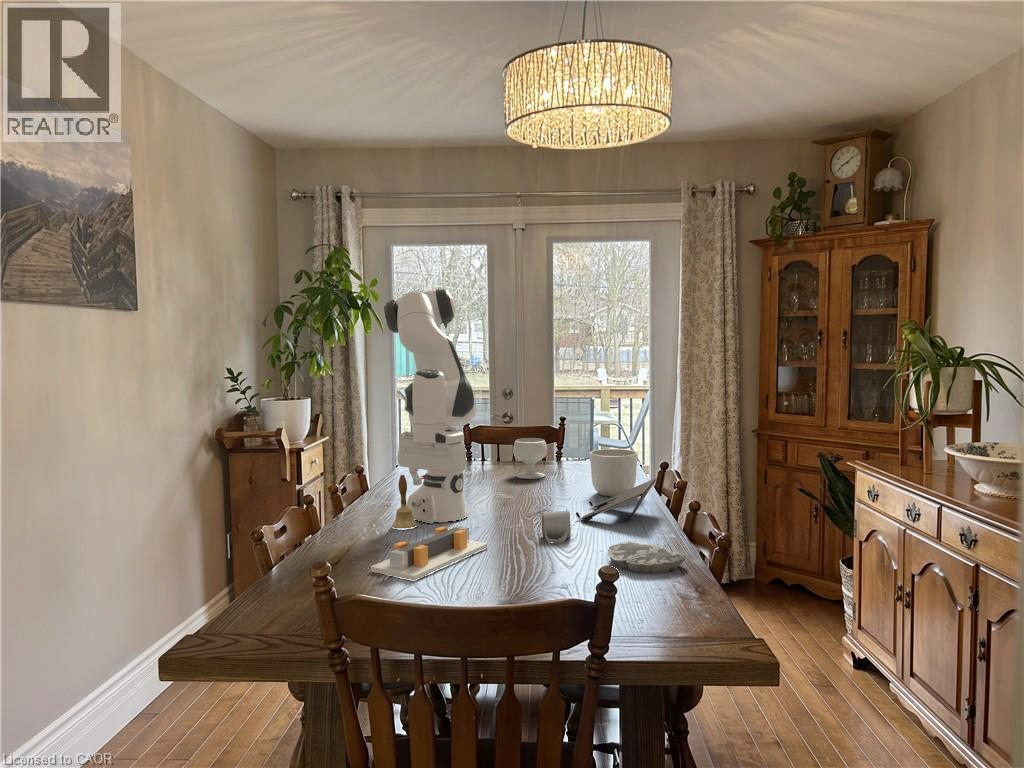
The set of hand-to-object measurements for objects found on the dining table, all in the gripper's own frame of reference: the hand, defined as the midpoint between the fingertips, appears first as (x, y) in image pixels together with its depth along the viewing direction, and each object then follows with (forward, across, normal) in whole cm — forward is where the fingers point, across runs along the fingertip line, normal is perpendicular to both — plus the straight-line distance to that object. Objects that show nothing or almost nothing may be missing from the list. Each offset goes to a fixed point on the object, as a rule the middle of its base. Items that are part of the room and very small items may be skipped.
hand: (431, 486), depth 183 cm
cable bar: (+18, 0, 0) cm, 18 cm away
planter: (+19, +9, +91) cm, 93 cm away
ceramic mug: (+19, +19, +32) cm, 42 cm away
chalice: (+20, -34, +104) cm, 111 cm away
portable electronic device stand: (+19, +22, +63) cm, 69 cm away
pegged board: (+19, 0, 0) cm, 19 cm away
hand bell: (+20, -28, +20) cm, 40 cm away
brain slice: (+19, +48, +24) cm, 57 cm away
